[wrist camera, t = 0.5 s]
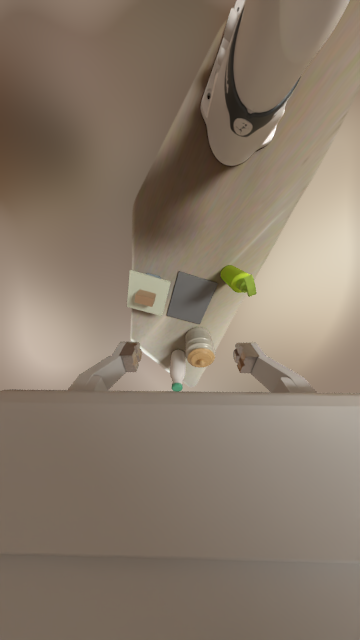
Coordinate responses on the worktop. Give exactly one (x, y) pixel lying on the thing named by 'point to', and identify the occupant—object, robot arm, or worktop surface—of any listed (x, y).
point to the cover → (147, 293)
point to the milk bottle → (177, 369)
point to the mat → (191, 297)
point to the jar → (199, 347)
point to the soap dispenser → (238, 280)
